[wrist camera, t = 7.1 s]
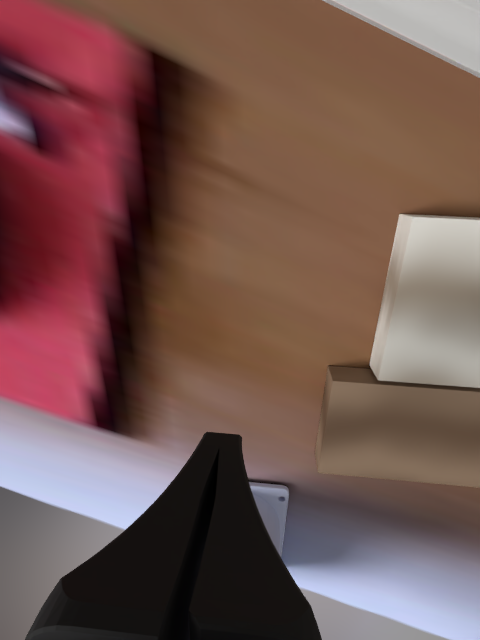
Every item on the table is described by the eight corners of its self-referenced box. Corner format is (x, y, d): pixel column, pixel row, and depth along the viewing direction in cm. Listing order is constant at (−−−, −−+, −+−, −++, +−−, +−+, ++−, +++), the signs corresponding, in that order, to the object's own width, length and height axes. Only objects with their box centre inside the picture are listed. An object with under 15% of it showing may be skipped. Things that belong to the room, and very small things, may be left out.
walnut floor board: (553, 474, 24) (575, 496, 22) (314, 452, 25) (317, 473, 23) (597, 385, 21) (625, 403, 19) (328, 365, 22) (332, 381, 20)
